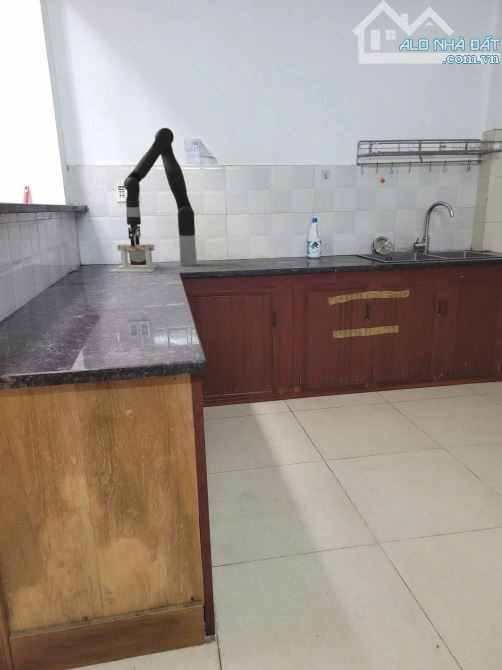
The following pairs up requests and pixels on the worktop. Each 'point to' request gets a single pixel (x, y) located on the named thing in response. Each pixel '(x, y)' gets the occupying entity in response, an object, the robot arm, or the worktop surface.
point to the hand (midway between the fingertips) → (135, 245)
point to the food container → (137, 257)
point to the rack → (125, 265)
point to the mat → (132, 270)
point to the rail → (136, 248)
